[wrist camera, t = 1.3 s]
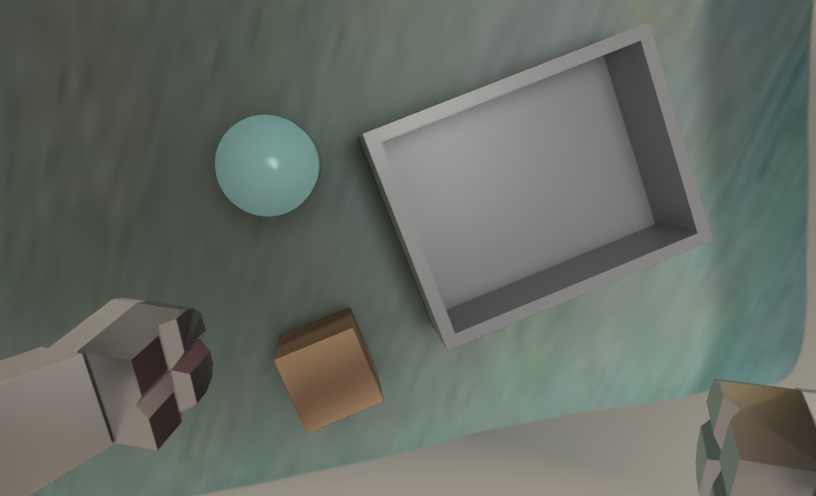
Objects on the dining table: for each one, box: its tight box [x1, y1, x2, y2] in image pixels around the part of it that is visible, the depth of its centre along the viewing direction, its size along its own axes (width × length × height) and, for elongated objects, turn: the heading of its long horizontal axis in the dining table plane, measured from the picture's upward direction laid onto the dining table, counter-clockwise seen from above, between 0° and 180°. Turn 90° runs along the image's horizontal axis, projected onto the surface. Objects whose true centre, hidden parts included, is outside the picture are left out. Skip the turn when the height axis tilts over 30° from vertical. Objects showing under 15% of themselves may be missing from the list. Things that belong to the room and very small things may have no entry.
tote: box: [358, 22, 713, 351], centre depth 39 cm, size 14×18×6 cm
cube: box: [274, 308, 384, 433], centre depth 39 cm, size 5×5×5 cm
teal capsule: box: [215, 115, 321, 216], centre depth 35 cm, size 5×5×9 cm
